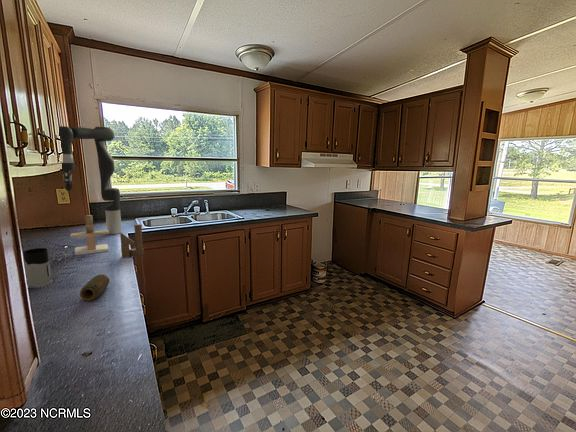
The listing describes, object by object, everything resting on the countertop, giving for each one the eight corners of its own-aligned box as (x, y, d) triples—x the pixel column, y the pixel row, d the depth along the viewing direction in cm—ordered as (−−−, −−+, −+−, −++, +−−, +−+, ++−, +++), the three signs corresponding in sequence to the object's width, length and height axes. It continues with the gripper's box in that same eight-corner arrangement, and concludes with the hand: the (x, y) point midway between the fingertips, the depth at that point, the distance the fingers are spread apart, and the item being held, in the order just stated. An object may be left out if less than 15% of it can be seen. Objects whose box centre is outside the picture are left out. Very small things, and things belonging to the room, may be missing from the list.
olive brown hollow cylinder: (101, 301, 106) (99, 285, 105) (79, 303, 104) (77, 287, 103) (111, 285, 120) (110, 270, 119) (92, 287, 118) (90, 272, 116)
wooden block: (121, 256, 156) (119, 225, 153) (142, 253, 162) (141, 223, 159) (122, 258, 153) (120, 226, 150) (144, 254, 160) (142, 224, 156)
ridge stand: (75, 249, 163) (73, 234, 161) (107, 246, 172) (106, 231, 171) (74, 255, 154) (73, 238, 153) (108, 251, 164) (107, 235, 162)
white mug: (29, 281, 120) (25, 248, 117) (70, 277, 126) (67, 245, 124) (22, 290, 112) (17, 255, 109) (66, 284, 119) (62, 251, 116)
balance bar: (71, 235, 158) (69, 216, 156) (108, 232, 169) (106, 214, 167) (70, 237, 154) (68, 217, 152) (108, 234, 165) (107, 215, 163)
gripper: (72, 162, 157) (76, 190, 161) (74, 161, 168) (77, 187, 172) (55, 162, 153) (60, 191, 156) (58, 161, 164) (62, 188, 168)
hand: (69, 189), depth 164 cm, fingers open, 8 cm apart
